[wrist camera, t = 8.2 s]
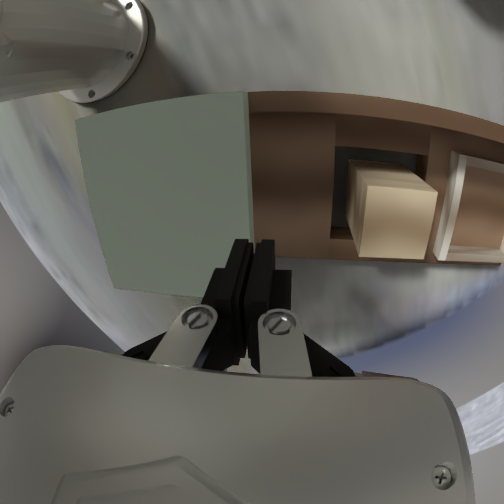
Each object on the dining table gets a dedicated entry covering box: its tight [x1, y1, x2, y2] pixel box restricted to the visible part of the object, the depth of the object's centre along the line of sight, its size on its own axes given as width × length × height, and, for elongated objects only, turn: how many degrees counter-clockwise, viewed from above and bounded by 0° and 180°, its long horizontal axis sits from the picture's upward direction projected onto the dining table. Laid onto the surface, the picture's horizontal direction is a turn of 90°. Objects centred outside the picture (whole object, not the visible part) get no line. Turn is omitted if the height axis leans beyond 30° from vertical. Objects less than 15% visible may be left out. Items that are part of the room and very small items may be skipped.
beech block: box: [345, 159, 438, 259], centre depth 21 cm, size 5×5×8 cm
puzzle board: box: [248, 91, 504, 265], centre depth 20 cm, size 14×34×8 cm, turn 93°
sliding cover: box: [75, 91, 255, 298], centre depth 18 cm, size 13×11×2 cm
